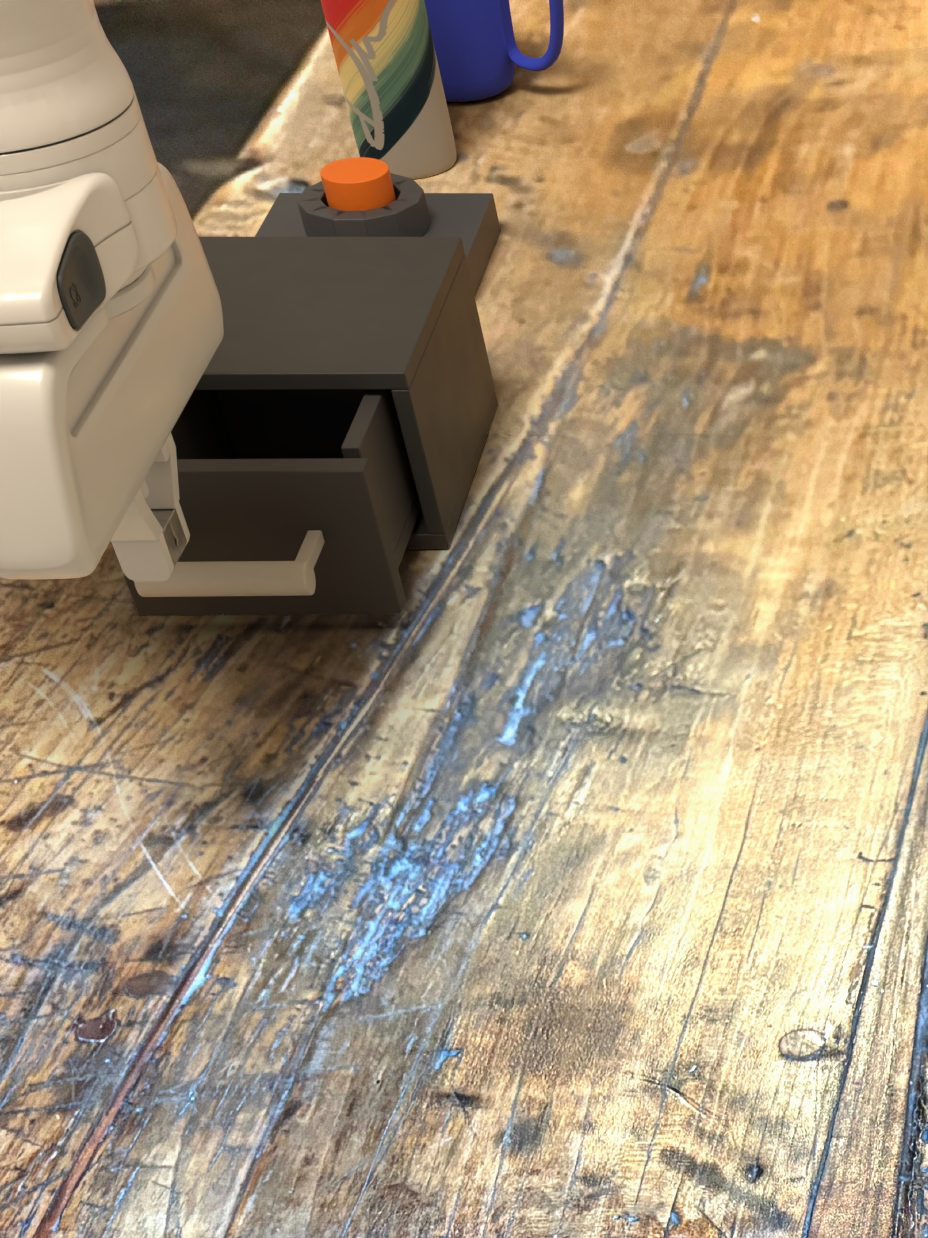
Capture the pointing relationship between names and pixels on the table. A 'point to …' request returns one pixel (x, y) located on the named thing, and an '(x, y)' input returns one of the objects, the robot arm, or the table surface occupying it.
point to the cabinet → (365, 344)
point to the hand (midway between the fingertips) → (160, 562)
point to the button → (357, 184)
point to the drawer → (288, 505)
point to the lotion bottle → (392, 84)
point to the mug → (484, 46)
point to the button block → (394, 219)
